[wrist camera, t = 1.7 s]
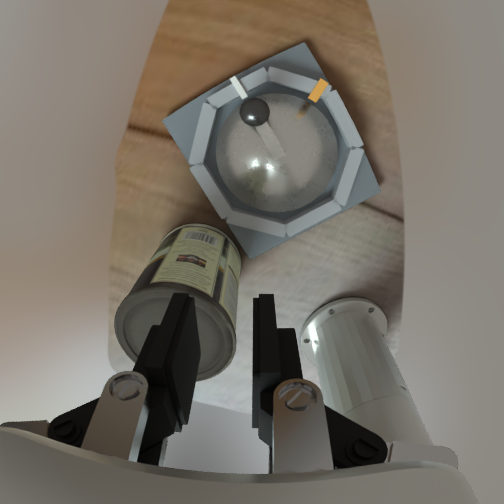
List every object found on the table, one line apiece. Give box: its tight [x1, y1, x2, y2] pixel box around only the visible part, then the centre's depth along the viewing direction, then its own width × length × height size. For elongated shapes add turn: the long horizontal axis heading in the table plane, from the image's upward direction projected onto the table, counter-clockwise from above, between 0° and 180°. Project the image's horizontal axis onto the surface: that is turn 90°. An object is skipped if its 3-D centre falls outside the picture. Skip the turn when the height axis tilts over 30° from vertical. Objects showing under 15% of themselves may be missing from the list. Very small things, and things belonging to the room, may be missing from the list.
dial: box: [216, 93, 338, 212], centre depth 27 cm, size 12×12×6 cm
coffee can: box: [114, 223, 241, 382], centre depth 30 cm, size 10×10×14 cm
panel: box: [162, 42, 381, 259], centre depth 29 cm, size 18×17×3 cm
